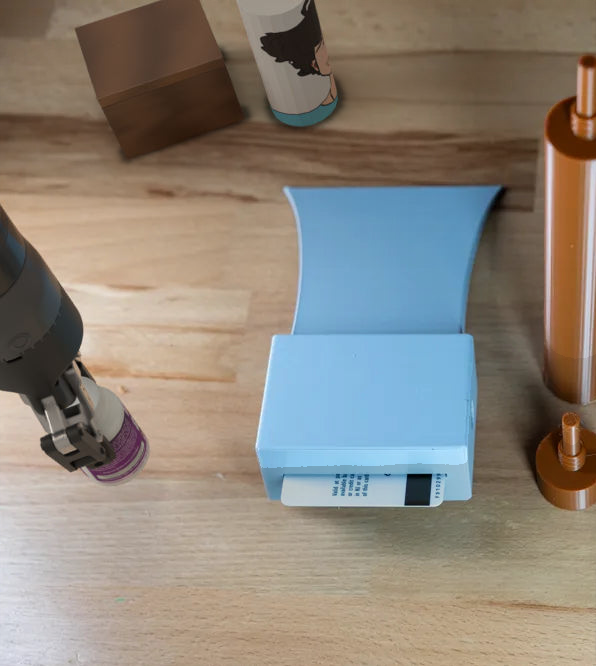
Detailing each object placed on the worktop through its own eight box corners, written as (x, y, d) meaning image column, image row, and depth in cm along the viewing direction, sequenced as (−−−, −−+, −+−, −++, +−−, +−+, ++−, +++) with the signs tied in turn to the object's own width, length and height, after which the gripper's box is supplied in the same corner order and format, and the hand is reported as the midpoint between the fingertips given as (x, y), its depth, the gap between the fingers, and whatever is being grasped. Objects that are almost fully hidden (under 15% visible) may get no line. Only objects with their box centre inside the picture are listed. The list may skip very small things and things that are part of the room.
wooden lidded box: (128, 162, 115) (96, 99, 107) (106, 92, 120) (74, 27, 112) (246, 121, 117) (222, 57, 109) (218, 55, 122) (194, -12, 114)
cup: (346, 117, 117) (317, 3, 104) (280, 137, 116) (243, 24, 103) (329, 70, 120) (299, -46, 107) (265, 89, 119) (227, -26, 106)
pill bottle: (163, 435, 92) (123, 376, 84) (133, 496, 90) (89, 442, 81) (101, 418, 93) (56, 359, 85) (70, 478, 91) (21, 423, 82)
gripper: (-81, 239, 75) (24, 367, 90) (-44, 424, 68) (64, 530, 83) (35, 199, 76) (120, 331, 91) (83, 377, 69) (167, 489, 84)
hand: (93, 425), depth 87 cm, fingers closed on pill bottle, 5 cm apart
